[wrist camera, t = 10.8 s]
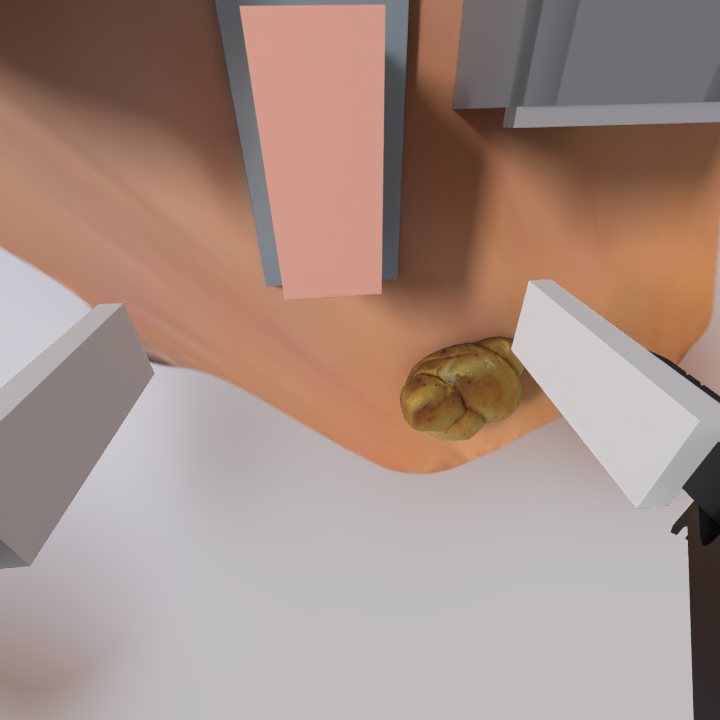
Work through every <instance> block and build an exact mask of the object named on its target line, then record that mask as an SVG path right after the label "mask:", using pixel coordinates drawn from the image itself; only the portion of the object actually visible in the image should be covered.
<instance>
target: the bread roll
mask: <svg viewBox="0 0 720 720" xmlns="http://www.w3.org/2000/svg"><path fill="white" fill-rule="evenodd" d="M512 344H513V340H512V339H509V338H505V337H491V338H487V339H484V340H482V341H480V342H478V343H476V344H471V343H465V344H459V345H453V346H451V347H447V348H444V349H441V350H439V351H437V352H435V353H433V354H431V355H429V356H427V357H426V358H424V359H423V360H421V361H420V362H419V363H418V364H417V365H415V366H414V368H413V369H412V370H411V372H410V374H409V376H408V379H407V381H406V385H405V386H404V387H403V388H402V391H401V396H400V404H401V408H402V413H403V415H404V419H405V420H406V422H407V423H408V424H409V425H410V426H411V427H412V428H413V429H415V430H418V431H426V432H428V433H429V434H431V435H432V436H434V437H436V438H439V439H442V440H452V441H458V440H469V439H471V437H473V436H474V435H475V434H476V433H477V432H478V431H479V430H480V429H481V428H482V426H483V425H484V423H485V422H486V421H497V420H502V419H505V418H506V417H508V416H509V415H511V414H512V413H513V412H514V411H515V410H516V409H517V407H518V405H519V402H520V398H521V395H522V385H521V380H520V378H519V377H520V376H521V374H522V372H523V370H524V369H525V367H524V365H523V364H522V363H521V362H520V360H519V359H518V358H517V357H516V355H515V354H514V353H513V352H512V350H511V348H512Z"/></svg>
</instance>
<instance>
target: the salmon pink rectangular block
mask: <svg viewBox="0 0 720 720" xmlns="http://www.w3.org/2000/svg"><path fill="white" fill-rule="evenodd" d="M239 7H240V13H241V20H242V26H243V33H244V39H245V46H246V52H247V59H248V65H249V72H250V78H251V85H252V91H253V98H254V104H255V111H256V117H257V124H258V131H259V137H260V144H261V150H262V157H263V163H264V170H265V176H266V183H267V189H268V196H269V202H270V209H271V215H272V222H273V228H274V235H275V241H276V248H277V254H278V261H279V267H280V274H281V280H282V287H283V293H284V299H300V298H317V297H335V296H353V295H371V294H382V228H383V153H384V79H385V5H280V6H239Z"/></svg>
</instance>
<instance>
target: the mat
mask: <svg viewBox="0 0 720 720" xmlns="http://www.w3.org/2000/svg"><path fill="white" fill-rule="evenodd" d="M215 4H216V10H217V15H218V21H219V26H220V32H221V37H222V43H223V49H224V54H225V60H226V65H227V71H228V76H229V82H230V87H231V93H232V98H233V104H234V109H235V115H236V121H237V126H238V132H239V137H240V143H241V148H242V154H243V159H244V165H245V170H246V176H247V182H248V187H249V193H250V198H251V204H252V209H253V215H254V220H255V226H256V231H257V237H258V243H259V248H260V254H261V259H262V265H263V270H264V276H265V281H266V286H282V280H281V274H280V267H279V261H278V254H277V248H276V241H275V235H274V228H273V222H272V215H271V209H270V202H269V196H268V189H267V183H266V176H265V170H264V163H263V157H262V150H261V144H260V137H259V131H258V124H257V117H256V111H255V104H254V98H253V91H252V85H251V78H250V72H249V65H248V59H247V52H246V46H245V39H244V33H243V26H242V20H241V13H240V7H239V6H280V5H385V79H384V153H383V228H382V280H394V279H398V258H399V233H400V208H401V183H402V158H403V133H404V108H405V83H406V58H407V34H408V9H409V0H215Z"/></svg>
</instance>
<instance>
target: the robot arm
mask: <svg viewBox="0 0 720 720" xmlns="http://www.w3.org/2000/svg"><path fill="white" fill-rule="evenodd" d="M511 350H512V352H513V353H514V354H515V355H516V357H517V358H518V359H519V360H520V362H521V363H522V364H523V365H524V367H525V368H526V369H527V370H528V372H529V373H530V374H531V376H532V377H533V378H534V379H535V381H536V382H537V383H538V384H539V386H540V387H541V388H542V389H543V391H544V392H545V393H546V395H547V396H548V397H549V398H550V400H551V401H552V402H553V403H554V405H555V406H556V407H557V408H558V410H559V411H560V412H561V414H562V415H563V416H564V417H565V419H566V420H567V421H568V422H569V424H570V425H571V426H572V427H573V429H574V430H575V431H576V432H577V434H578V435H579V436H580V438H581V439H582V440H583V441H584V443H585V444H586V445H587V446H588V448H589V449H590V450H591V451H592V453H593V454H594V455H595V457H596V458H597V459H598V460H599V462H600V463H601V464H602V465H603V467H604V468H605V469H606V470H607V472H608V473H609V474H610V476H611V477H612V478H613V479H614V481H615V482H616V483H617V484H618V486H619V487H620V488H621V489H622V491H623V492H624V493H625V494H626V496H627V497H628V498H629V500H630V501H631V502H632V503H633V505H634V506H635V507H636V508H637V509H640V508H650V507H661V506H669V505H670V504H671V502H672V501H673V500H674V499H675V497H676V496H677V495H678V494H679V492H680V491H681V490H682V489H684V490H685V491H686V492H687V493H688V495H689V496H690V497H691V498H692V499H693V500H694V502H693V503H692V504H691V505H690V506H689V507H688V509H687V510H686V511H685V512H684V513H683V515H682V516H681V517H680V518H679V519H678V520H677V521H676V523H675V524H674V525H673V527H672V530H671V533H673V534H676V535H677V534H678V533H679V532H680V530H681V529H682V528H683V527H685V526H688V536H687V537H686V539H687V540H688V556H689V587H690V617H691V647H692V679H693V708H694V720H720V396H718V395H717V394H716V393H714V392H713V391H712V390H710V389H709V388H707V387H706V386H705V385H702V386H701V384H700V382H699V381H698V380H696V379H695V378H693V377H692V376H691V375H686V372H685V371H684V370H682V369H681V368H680V367H678V366H677V365H675V364H674V363H673V362H671V361H670V360H668V359H666V358H664V357H662V356H660V355H658V354H655V353H653V352H651V351H649V350H647V349H645V348H644V347H642V346H641V345H640V344H638V343H637V342H636V341H634V340H633V339H631V338H630V337H629V336H627V335H626V334H625V333H623V332H622V331H621V330H619V329H618V328H617V327H615V326H614V325H612V324H611V323H610V322H608V321H607V320H606V319H604V318H603V317H602V316H600V315H599V314H597V313H596V312H595V311H593V310H592V309H591V308H589V307H588V306H587V305H585V304H584V303H583V302H581V301H580V300H578V299H577V298H576V297H574V296H573V295H572V294H570V293H569V292H568V291H566V290H565V289H563V288H562V287H561V286H559V285H558V284H557V283H555V282H554V281H553V280H533V281H529V283H528V287H527V290H526V294H525V298H524V302H523V306H522V310H521V313H520V317H519V321H518V325H517V329H516V333H515V336H514V340H513V344H512V348H511ZM153 375H154V371H153V369H152V367H151V365H150V362H149V360H148V358H147V355H146V353H145V351H144V349H143V346H142V344H141V342H140V339H139V337H138V335H137V333H136V330H135V328H134V326H133V323H132V321H131V319H130V317H129V314H128V312H127V310H126V307H125V305H124V303H117V304H99V305H97V306H96V307H95V308H94V309H93V310H91V311H90V312H89V313H88V314H87V315H86V316H84V317H83V318H82V319H81V320H80V321H79V322H77V323H76V324H75V325H74V326H73V327H72V328H70V329H69V330H68V331H67V332H66V333H65V334H63V335H62V336H61V337H60V338H59V339H58V340H57V341H55V342H54V343H53V344H52V345H51V346H50V347H48V348H47V349H46V350H45V351H44V352H42V353H41V354H40V355H39V356H38V357H37V358H35V359H34V360H33V361H32V362H31V363H30V364H28V365H27V366H26V367H25V368H24V369H23V370H21V371H20V372H19V373H18V374H17V375H16V376H14V377H13V378H12V379H11V380H10V381H9V382H7V383H6V384H5V385H4V386H3V387H2V388H0V569H3V568H13V567H24V566H30V565H31V564H32V562H33V561H34V559H35V558H36V556H37V554H38V553H39V551H40V550H41V548H42V547H43V545H44V543H45V542H46V540H47V539H48V537H49V536H50V534H51V533H52V531H53V529H54V528H55V527H56V525H57V523H58V522H59V520H60V519H61V517H62V516H63V514H64V512H65V511H66V510H67V508H68V506H69V505H70V503H71V502H72V500H73V499H74V497H75V496H76V494H77V492H78V491H79V489H80V488H81V486H82V485H83V483H84V482H85V480H86V478H87V477H88V475H89V474H90V472H91V471H92V469H93V468H94V466H95V465H96V463H97V461H98V460H99V458H100V457H101V455H102V454H103V452H104V451H105V449H106V448H107V446H108V444H109V443H110V441H111V440H112V438H113V437H114V435H115V434H116V432H117V430H118V429H119V427H120V426H121V424H122V422H123V421H124V420H125V418H126V417H127V415H128V413H129V412H130V410H131V409H132V407H133V406H134V404H135V402H136V401H137V399H138V398H139V396H140V395H141V393H142V392H143V390H144V389H145V387H146V386H147V384H148V382H149V381H150V379H151V378H152V376H153Z"/></svg>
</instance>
